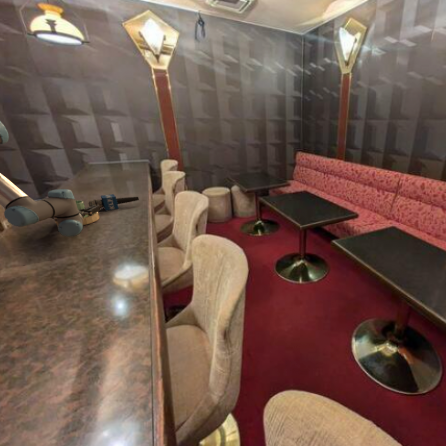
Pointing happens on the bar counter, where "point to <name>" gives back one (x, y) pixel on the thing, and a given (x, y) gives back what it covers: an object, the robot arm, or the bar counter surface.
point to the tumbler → (80, 205)
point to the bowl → (89, 219)
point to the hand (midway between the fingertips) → (75, 206)
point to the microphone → (111, 201)
